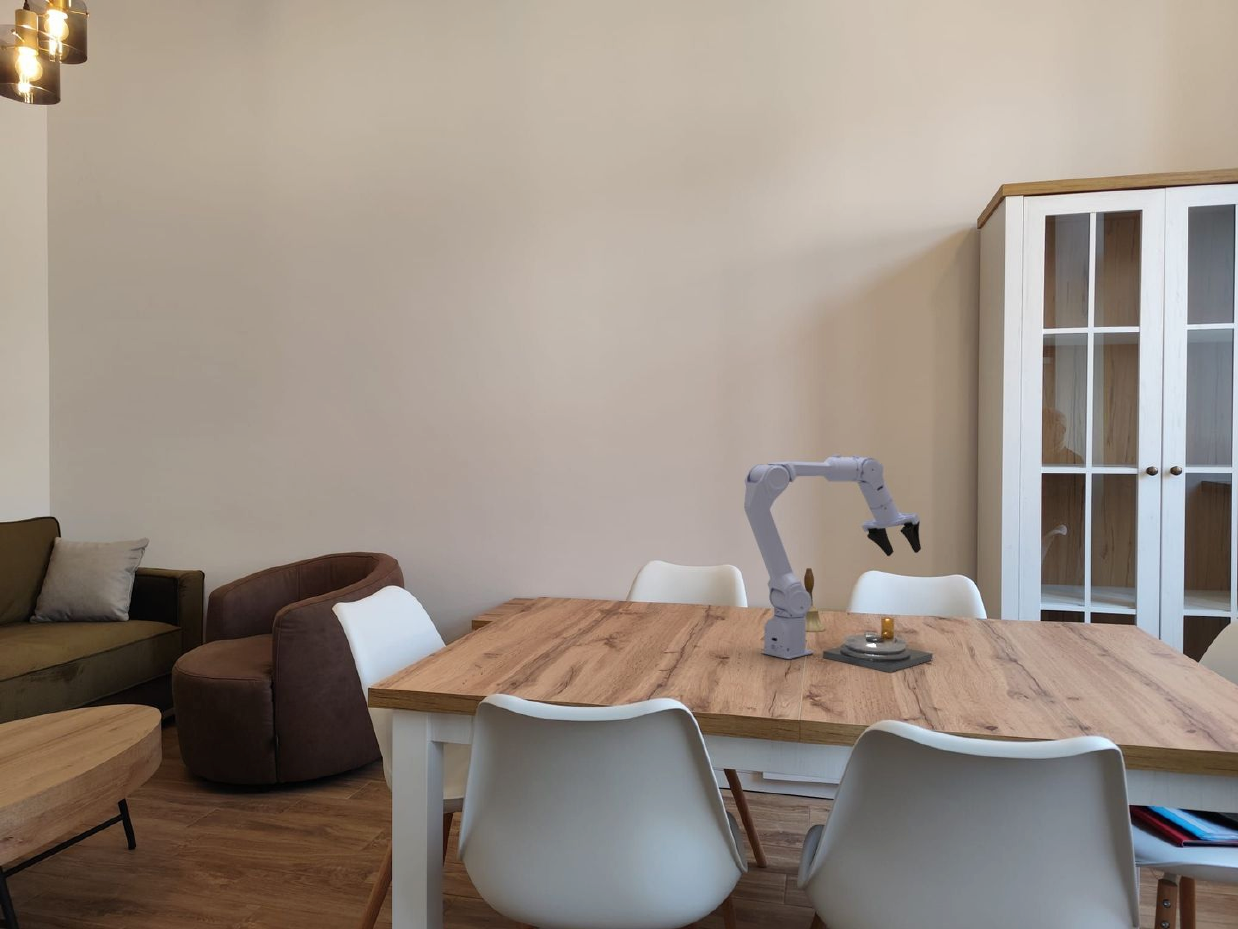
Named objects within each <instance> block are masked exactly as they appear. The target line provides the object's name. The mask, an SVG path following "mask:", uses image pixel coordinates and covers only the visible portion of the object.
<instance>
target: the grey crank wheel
mask: <svg viewBox="0 0 1238 929" xmlns="http://www.w3.org/2000/svg"><path fill="white" fill-rule="evenodd" d="M880 619H881V620H880V626H881V627H880V635H878V634H875V632H873V631H871V632H870V631H869V632H867V631H866V632H864V634H855V635H850V636H844V643H845V647H847V648H848V649H851V650H854V651H858V652H864V653H872V654H896V653H901V652H904V651H905V650H906V648H907V646H906V644H907V643H906V641H907V640H906V639H905V638H904V637H895V618H893V617H888V616H887V617H881V618H880Z"/></svg>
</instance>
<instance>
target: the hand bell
mask: <svg viewBox="0 0 1238 929" xmlns="http://www.w3.org/2000/svg"><path fill="white" fill-rule="evenodd" d="M805 570H806V571H805V573H804V578H803V583H804V584H803V585H804V589H805V590H806V591H807V592H808V593H809V594H810V596H811V607H810V609H809V611H808V612H807V613H806V633H820V632H824V631H826V627H825V626H824V625H823V623H822V621H821V619H820V614H819V609H818V608H817V607H816V606H814V603H813V590H814V586H815V577H814V574H813V570H812V568H808V567H807V568H806V569H805Z"/></svg>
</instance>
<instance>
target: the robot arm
mask: <svg viewBox="0 0 1238 929" xmlns="http://www.w3.org/2000/svg"><path fill="white" fill-rule="evenodd" d="M798 477H824V479H825V480H826V481H827V482H844V483H845V482H846V483H847V482H849V483H851V482H852V483H853V482H855V483H857V484H858V486H859V489H860V491H861V494H862V495H863V497H864V500H865V502H866V504H867V506H868V508H869V511H870V512H871V514H872V517H873V519H870V520H866V521H864V522H863V523H862V524H861V527H862V529H863V531H864V533H866V532H867V533H868V534H867V535H866V537H867V538H868V539H869V540H871V541H872V542H874V543H875V544H876V545H877V546H878V547H879V548H880V549H881V551H883V552H884V554H885V555H886V556H887V557H890V556H892V554H893V553H894V548H893V546H892V543H891V542H890V540H889V536H888V534H887V529H886V528H891V527H898V526H903V527H902V528H901V529H900V530H899V531H900V533H901V534H902V535H903V536H904V538H906V540H907V541H908V543H909V545H910V547H911V549H912V551H913V552H914V553H915V554H918V553H919V551H921V549H922V547H921V542H920V522H921V518H920V517H919V515H918V513H917V512H915V513H907V512H905V513H903V512H900V511H899V510H898V508H897V505H896V503H895V501H894V499H893V497H892V494H891V492H890V491H889V488H888V486H887V484H886V481H885V478H884V466H883V463H880V462H879V461H878V459H876V458H873V457H860V456H859V455H852V456H851V457H847V456H845V457H843V456H842V455H841V454H833V455H832V456H829V457H828V458H826V459H825V460H824V461H823V462H815V461H814V462H813V461H812V462H811V461H787V460H785V461H778V462H768V463H767V464H762V463H761V464H755V465H753V466H752V467H751V468H750V469H749V471H748V473H747V474H746V477H745V478H744V483H745V494H744V506H743V507H744V508H743V509H744V511H745V514H746V517H747V519H748V522H749V525H750V528H751V531H752V533H753V535H754V538H755V540H756V543H757V546H758V549H759V552H760V555H761V557H762V559H763V562H764V565H765V568H766V571H767V573H768V576H769V580H768V581H767V586H768V589H769V593H768V594H769V595H768V598H769V602H770V604H771V606H772V607H773V616H772V617H771V618H770V619H767V621H766V622H765V624H764V634H763V635H764V636H763V637H764V638H763V640H764V644H763V645H764V646H763V648H764V650H761V654H765V655H769V656H772V657H773V656H774V657H776V658H777V657H778V658H781V659H785V660H786V659H787V660H791V659H794V658H798V657H803V656H807V655H811V654H814V650H810V649H806V644H807V643H806V641H807V640H806V634H807V632H806V613H807V612H808V611H809V609H810V607H811V596H810V594H809V593H808V592H807V591H806V589H805V587H804V586H803V584H802V582H801V580H800V579H799V578H798V576H797V575H796V574H795V573H794V572H793V569H792V567H791V564H790V562H789V561H790V560H789V558H788V556H787V552H786V550H785V547H784V545H783V542H782V539H781V536H780V533H779V531H778V528H777V526H776V523H775V521H774V517H773V515H772V512H771V507H772V506H773V505H774V502H775V501H776V500H777V498H778V497H779V496H780V495H781V494H782V493H784V492H785V490H786V489H787V488H788V487H789V484H790V483H793V482H794V481H795V480H796V479H797V478H798Z"/></svg>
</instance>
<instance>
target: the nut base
mask: <svg viewBox="0 0 1238 929" xmlns="http://www.w3.org/2000/svg"><path fill="white" fill-rule="evenodd" d="M822 654H823V655H822V658H823V659H827V660H832V661H836V662H841V663H845V662H847V663H846V664H849V663H851V664H850V665H853V664H855V666H858V667H862V668H863V667H864V668H867V669H871V670H876V669H877V671H880V670H881V671H880V672H884V671H885V672H884V673H889V672H890V673H889V674H891V673H893V671H895V672H897V671H896V670H898V671H900V670H899V669H901V670H905V669H907V667H908V668H911V667H914V666H913V665H915V666H917V665H916V664H918V663H921V662H925V663H927V662H926V661H928V662H930V661H929V660H931V659H932V660H933V653H931V652H926V651H921V650H916V649H911V648H908V647H906V650H905V651H904V652H901V653H896V654H872V653H864V652H858V651H854V650H851V649H848V648H847V647H845V642H844V643H842V644H840V646H838V647H833V648H830V649H826V650H823V651H822ZM921 664H922V663H921ZM918 665H919V664H918ZM910 666H911V667H910ZM904 668H905V669H904Z"/></svg>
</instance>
